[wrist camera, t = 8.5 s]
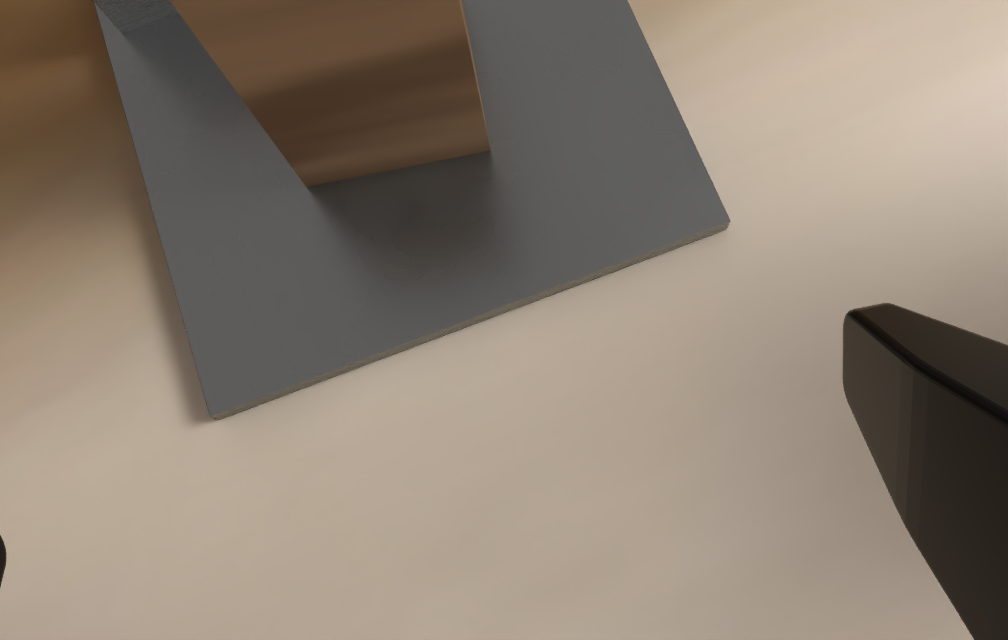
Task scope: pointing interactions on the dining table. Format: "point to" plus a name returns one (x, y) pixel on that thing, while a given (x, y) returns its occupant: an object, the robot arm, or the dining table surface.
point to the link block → (349, 79)
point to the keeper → (404, 196)
